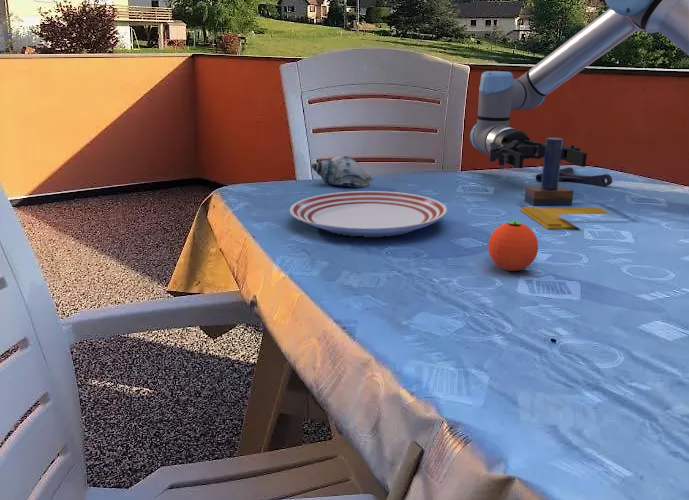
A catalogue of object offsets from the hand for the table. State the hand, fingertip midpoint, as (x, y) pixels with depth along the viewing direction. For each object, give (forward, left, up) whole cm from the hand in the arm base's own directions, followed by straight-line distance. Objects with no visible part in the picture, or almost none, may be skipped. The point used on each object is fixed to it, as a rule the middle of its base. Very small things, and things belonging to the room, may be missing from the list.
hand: (553, 160), depth 140 cm
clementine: (+22, +41, -9) cm, 47 cm away
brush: (0, 0, -9) cm, 9 cm away
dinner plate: (+39, +15, -9) cm, 43 cm away
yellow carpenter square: (0, +13, -9) cm, 15 cm away
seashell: (+40, -19, -9) cm, 45 cm away
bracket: (-16, -21, -9) cm, 28 cm away
